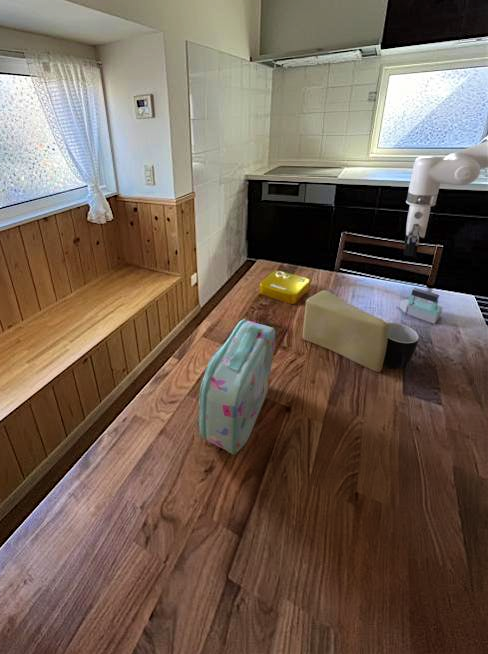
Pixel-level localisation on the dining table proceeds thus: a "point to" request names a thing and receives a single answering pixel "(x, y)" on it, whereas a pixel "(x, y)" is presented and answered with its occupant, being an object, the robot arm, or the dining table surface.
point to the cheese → (345, 330)
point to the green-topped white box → (422, 306)
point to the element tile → (284, 287)
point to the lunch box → (236, 386)
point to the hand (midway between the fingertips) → (409, 250)
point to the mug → (400, 346)
